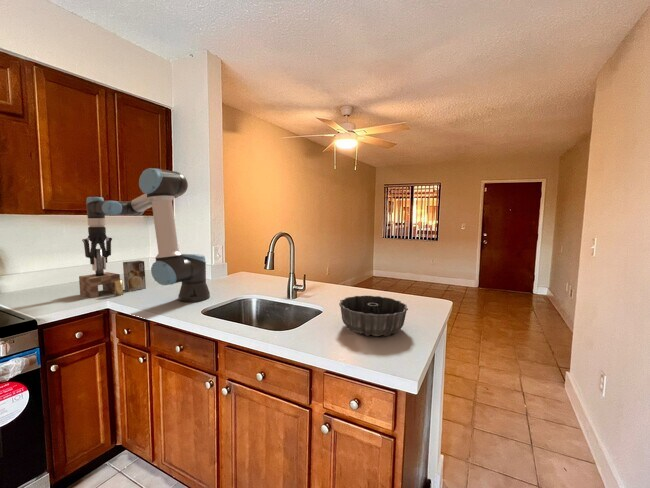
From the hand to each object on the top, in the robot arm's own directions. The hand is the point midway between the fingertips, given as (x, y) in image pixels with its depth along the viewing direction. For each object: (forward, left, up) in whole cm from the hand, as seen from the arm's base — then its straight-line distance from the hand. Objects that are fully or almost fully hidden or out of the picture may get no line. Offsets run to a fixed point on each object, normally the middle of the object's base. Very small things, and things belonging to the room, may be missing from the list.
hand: (99, 269), depth 168 cm
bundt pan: (-146, -25, -13) cm, 149 cm away
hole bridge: (0, 0, -13) cm, 13 cm away
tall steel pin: (0, 0, -6) cm, 6 cm away
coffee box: (-6, -15, -13) cm, 21 cm away
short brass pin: (-12, -3, -13) cm, 18 cm away
